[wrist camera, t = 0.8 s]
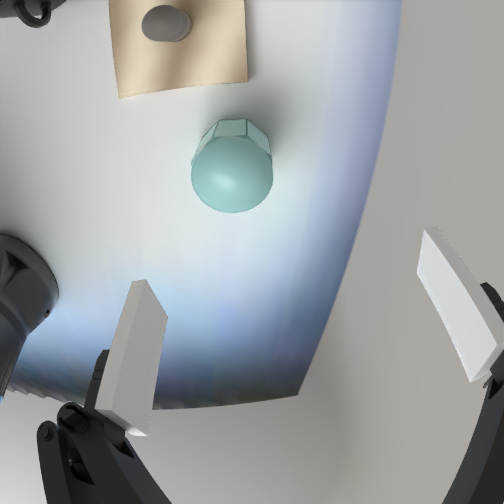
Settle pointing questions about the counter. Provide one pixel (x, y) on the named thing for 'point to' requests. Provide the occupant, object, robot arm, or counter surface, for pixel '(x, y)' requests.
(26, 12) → the mug
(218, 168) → the cap
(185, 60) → the post block
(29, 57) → the counter surface
